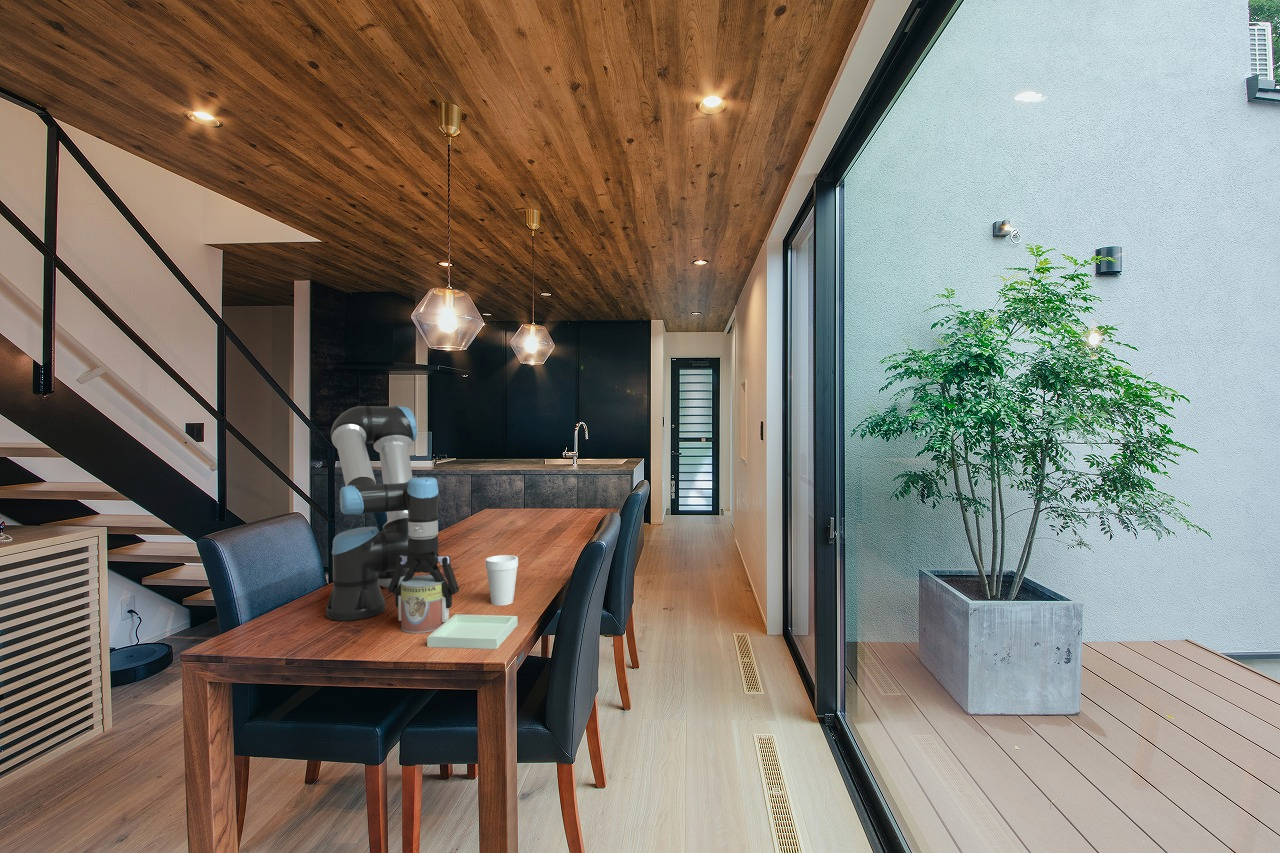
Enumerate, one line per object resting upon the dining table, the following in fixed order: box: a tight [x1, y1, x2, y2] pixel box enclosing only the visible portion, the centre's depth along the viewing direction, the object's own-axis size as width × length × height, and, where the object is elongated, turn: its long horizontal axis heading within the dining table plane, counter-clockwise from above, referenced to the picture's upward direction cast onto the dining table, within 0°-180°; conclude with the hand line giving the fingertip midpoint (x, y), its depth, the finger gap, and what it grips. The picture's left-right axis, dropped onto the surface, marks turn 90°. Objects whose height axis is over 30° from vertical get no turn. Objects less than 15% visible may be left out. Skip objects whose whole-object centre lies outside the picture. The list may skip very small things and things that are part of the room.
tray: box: [426, 613, 519, 650], centre depth 155 cm, size 17×17×2 cm
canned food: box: [400, 574, 447, 634], centre depth 163 cm, size 11×11×12 cm
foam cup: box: [485, 554, 519, 606], centre depth 183 cm, size 10×9×13 cm
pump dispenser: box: [378, 569, 409, 589], centre depth 202 cm, size 10×10×15 cm
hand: (423, 619), depth 163 cm, fingers closed on canned food, 11 cm apart
